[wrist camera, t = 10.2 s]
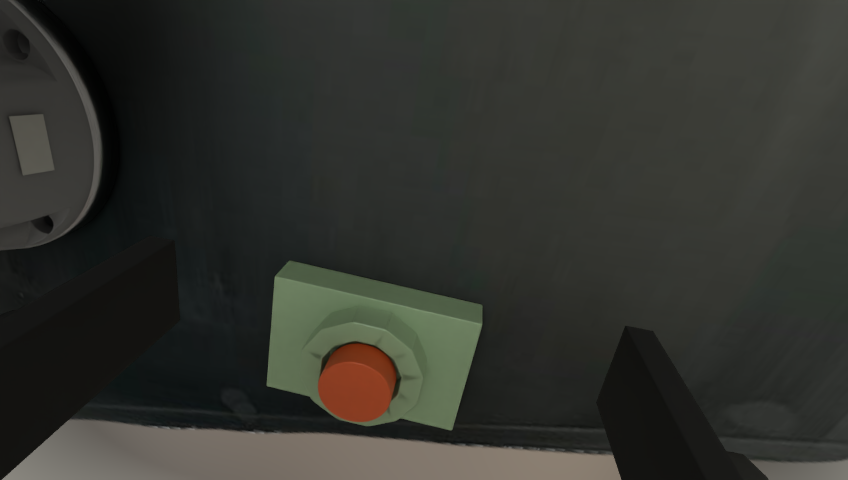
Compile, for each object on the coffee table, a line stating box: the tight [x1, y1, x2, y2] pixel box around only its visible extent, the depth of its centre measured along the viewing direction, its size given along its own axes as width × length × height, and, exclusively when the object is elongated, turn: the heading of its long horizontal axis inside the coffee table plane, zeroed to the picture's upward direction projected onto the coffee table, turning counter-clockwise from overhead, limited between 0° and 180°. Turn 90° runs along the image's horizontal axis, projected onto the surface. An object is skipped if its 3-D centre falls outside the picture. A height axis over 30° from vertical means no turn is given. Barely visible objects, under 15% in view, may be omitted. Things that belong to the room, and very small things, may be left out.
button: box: [318, 343, 396, 422], centre depth 25 cm, size 4×4×2 cm
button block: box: [267, 261, 482, 430], centre depth 28 cm, size 12×8×4 cm, turn 79°
